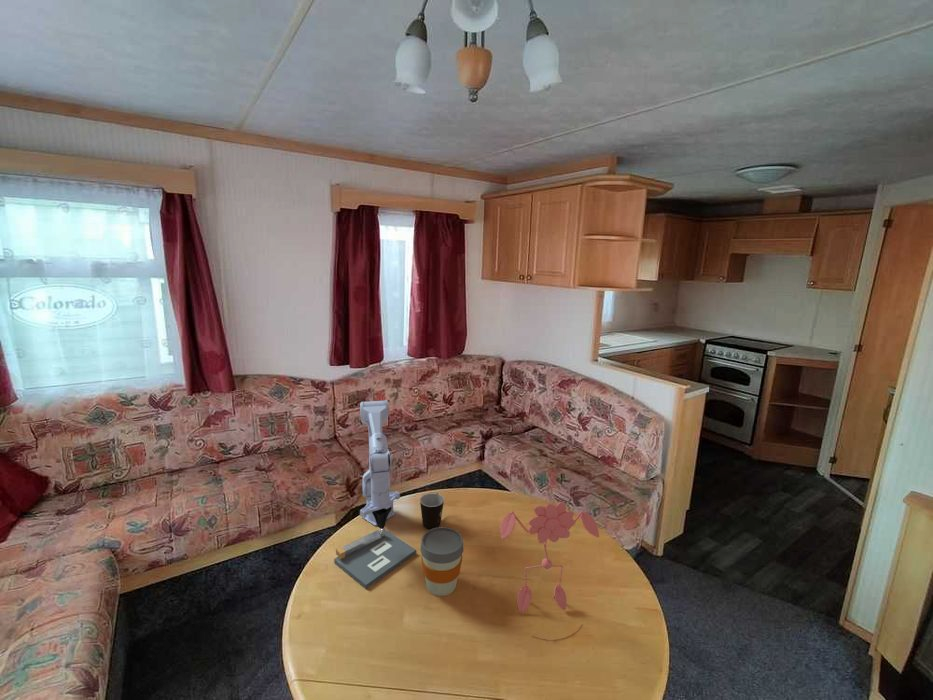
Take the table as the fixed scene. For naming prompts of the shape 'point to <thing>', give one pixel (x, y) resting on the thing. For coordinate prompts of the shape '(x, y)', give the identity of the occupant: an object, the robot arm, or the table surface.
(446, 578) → the reusable coffee cup
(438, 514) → the coffee mug
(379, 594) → the table surface
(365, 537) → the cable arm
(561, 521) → the figurine
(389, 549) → the label panel
